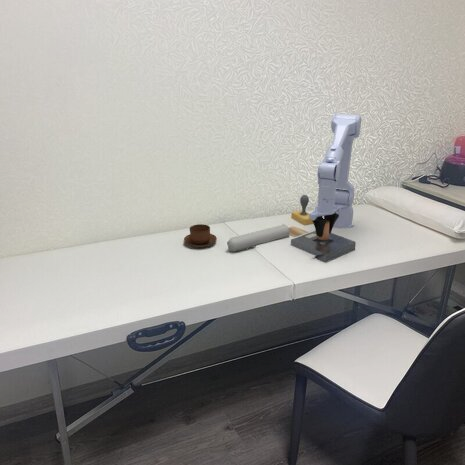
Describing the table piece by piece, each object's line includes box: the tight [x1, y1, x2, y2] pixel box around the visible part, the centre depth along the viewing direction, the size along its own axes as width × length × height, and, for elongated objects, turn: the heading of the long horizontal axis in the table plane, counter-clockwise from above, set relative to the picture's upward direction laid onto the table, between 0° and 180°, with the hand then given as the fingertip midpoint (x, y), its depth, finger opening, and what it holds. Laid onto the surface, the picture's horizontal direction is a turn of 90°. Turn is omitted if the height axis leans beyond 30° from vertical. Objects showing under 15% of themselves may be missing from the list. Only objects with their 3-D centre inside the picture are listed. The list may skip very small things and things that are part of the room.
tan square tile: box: [288, 225, 309, 238], centre depth 167 cm, size 8×8×1 cm
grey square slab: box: [290, 230, 357, 263], centre depth 154 cm, size 16×16×3 cm
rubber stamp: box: [290, 194, 314, 226], centre depth 177 cm, size 10×6×12 cm, turn 26°
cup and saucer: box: [183, 223, 217, 248], centre depth 159 cm, size 12×12×6 cm
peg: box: [317, 221, 330, 240], centre depth 152 cm, size 4×4×6 cm
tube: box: [226, 223, 290, 253], centre depth 158 cm, size 5×5×25 cm
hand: (323, 234), depth 153 cm, fingers closed on peg, 4 cm apart
